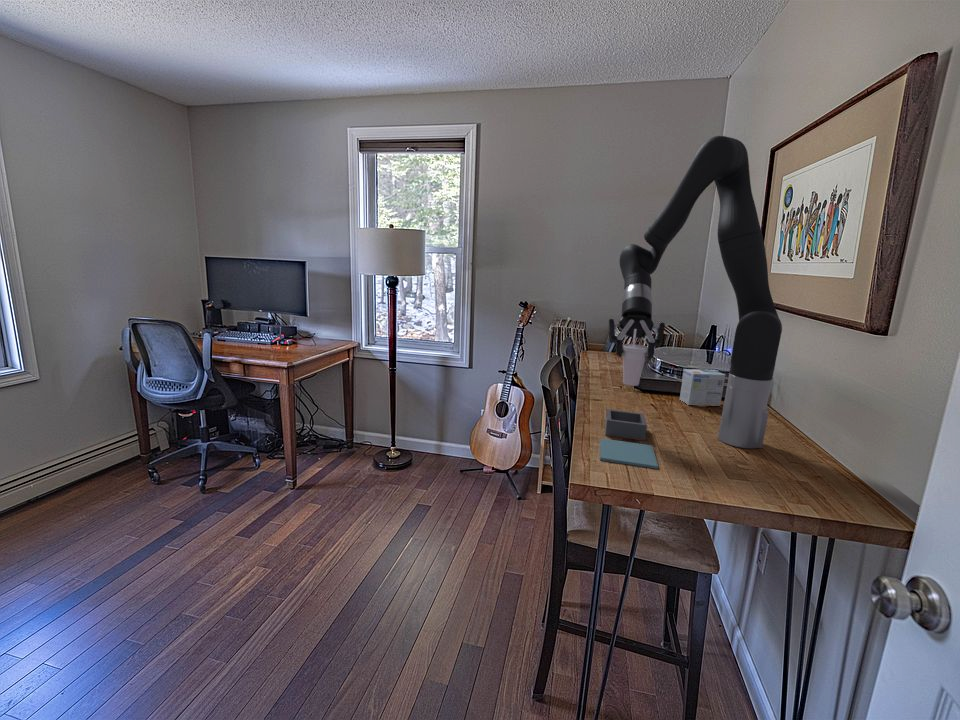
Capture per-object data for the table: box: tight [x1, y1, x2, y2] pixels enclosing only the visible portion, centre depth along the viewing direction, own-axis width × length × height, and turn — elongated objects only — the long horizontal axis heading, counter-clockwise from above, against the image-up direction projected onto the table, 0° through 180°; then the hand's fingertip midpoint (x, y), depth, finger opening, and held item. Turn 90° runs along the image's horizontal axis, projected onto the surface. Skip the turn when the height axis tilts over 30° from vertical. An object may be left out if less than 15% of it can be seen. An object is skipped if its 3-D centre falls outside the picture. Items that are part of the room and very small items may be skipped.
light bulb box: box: [679, 368, 726, 407], centre depth 149 cm, size 11×7×11 cm, turn 94°
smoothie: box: [622, 329, 648, 387], centre depth 117 cm, size 6×6×14 cm
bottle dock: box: [604, 408, 648, 441], centre depth 120 cm, size 10×10×4 cm
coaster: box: [599, 437, 659, 470], centre depth 106 cm, size 12×12×1 cm
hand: (634, 356), depth 115 cm, fingers closed on smoothie, 6 cm apart
